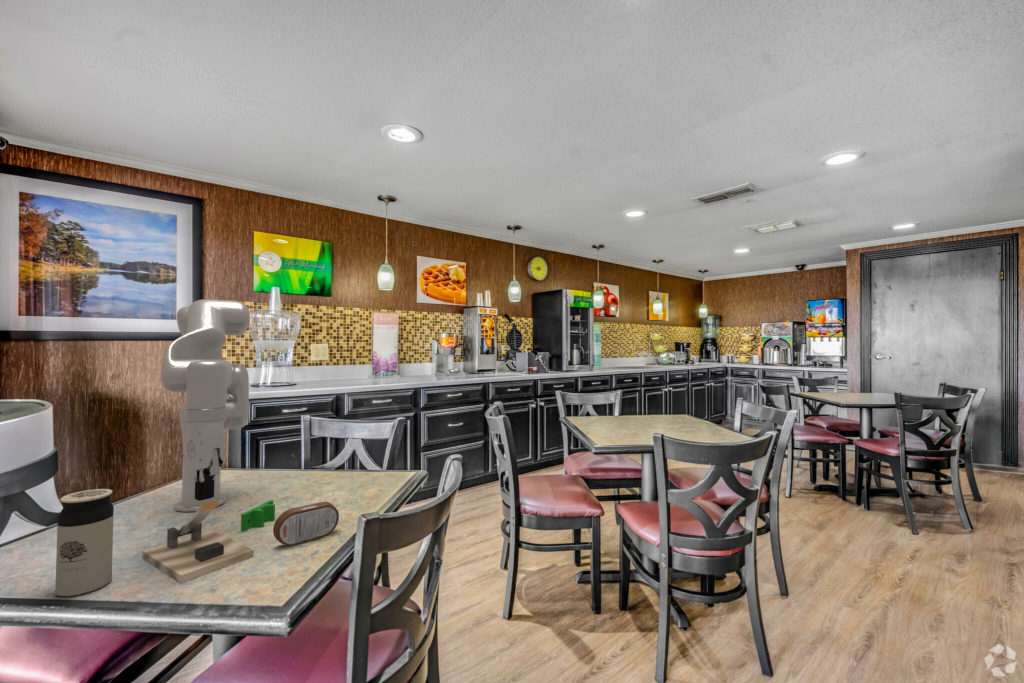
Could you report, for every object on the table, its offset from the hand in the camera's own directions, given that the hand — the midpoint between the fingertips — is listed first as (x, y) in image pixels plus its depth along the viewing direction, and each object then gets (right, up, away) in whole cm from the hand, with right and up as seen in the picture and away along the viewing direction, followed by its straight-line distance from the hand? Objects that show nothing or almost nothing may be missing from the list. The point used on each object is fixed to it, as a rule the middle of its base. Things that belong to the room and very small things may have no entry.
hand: (204, 498), depth 99 cm
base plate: (-2, -14, +1) cm, 14 cm away
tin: (+18, -14, +10) cm, 25 cm away
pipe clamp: (+1, -15, +21) cm, 26 cm away
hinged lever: (-3, -6, +2) cm, 7 cm away
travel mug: (-15, -13, -12) cm, 24 cm away
